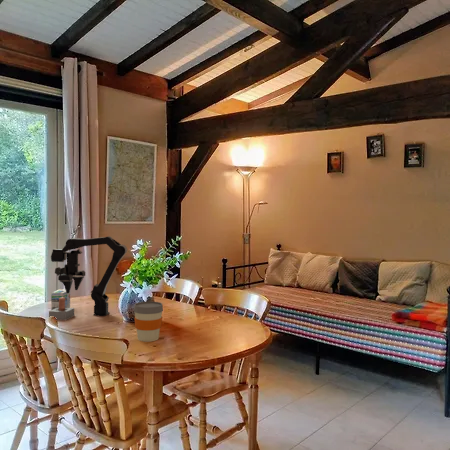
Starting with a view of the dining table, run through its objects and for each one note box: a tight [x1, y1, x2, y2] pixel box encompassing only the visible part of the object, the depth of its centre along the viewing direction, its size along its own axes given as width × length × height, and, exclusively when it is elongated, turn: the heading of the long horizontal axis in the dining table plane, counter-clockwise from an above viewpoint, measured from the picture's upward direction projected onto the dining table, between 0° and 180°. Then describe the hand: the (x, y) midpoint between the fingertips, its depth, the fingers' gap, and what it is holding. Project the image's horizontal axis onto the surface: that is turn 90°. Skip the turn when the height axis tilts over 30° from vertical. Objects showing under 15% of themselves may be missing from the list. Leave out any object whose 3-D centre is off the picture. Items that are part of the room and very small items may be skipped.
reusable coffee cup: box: [133, 301, 164, 343], centre depth 190 cm, size 13×13×15 cm
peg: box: [59, 297, 65, 311], centre depth 223 cm, size 3×3×10 cm
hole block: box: [48, 307, 75, 321], centre depth 223 cm, size 9×9×4 cm
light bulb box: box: [50, 288, 71, 310], centre depth 238 cm, size 11×7×11 cm, turn 179°
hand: (72, 291), depth 229 cm, fingers open, 9 cm apart
